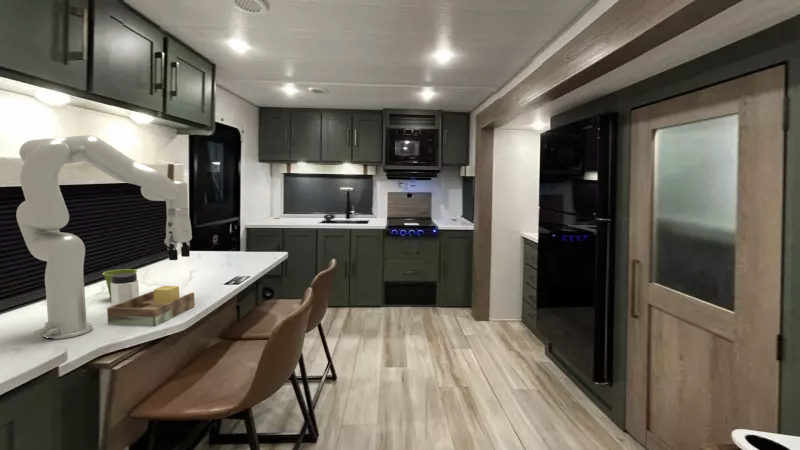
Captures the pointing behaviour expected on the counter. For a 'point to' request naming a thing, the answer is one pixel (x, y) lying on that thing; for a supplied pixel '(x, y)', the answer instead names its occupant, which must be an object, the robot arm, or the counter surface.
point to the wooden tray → (148, 310)
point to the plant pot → (109, 274)
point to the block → (166, 294)
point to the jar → (124, 287)
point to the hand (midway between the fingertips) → (179, 257)
